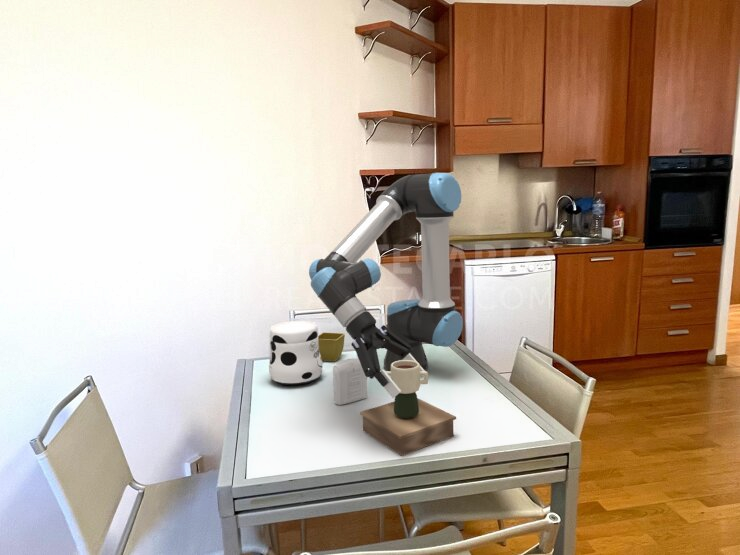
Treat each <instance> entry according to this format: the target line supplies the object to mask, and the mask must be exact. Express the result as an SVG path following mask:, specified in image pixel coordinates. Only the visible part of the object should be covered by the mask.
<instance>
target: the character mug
mask: <svg viewBox="0 0 740 555" xmlns="http://www.w3.org/2000/svg"><path fill="white" fill-rule="evenodd" d="M385 372H386V373H387V374H388V375H389V376H390V378H391V379H392V380H393V381H394V383H395V384H396V385H397V386H398V388H399V389H400V390H401V392H400V393H399V394H398V395H397V396H395V397H394V401H393V402H394V413H395V414H396V415H397V416H400V417H403V418H410V417H413V416H415V415H417V414H418V413H419V406H418V400H417V398H418V394H417V392H418V391H419V390H420V387H421V385H427V384H428V382H429V373H428V371H426V370H424V371H420V364H419V363H418V362H416V361H412V360H399V361H395V362H393V363H392V364H391V371H387V370H385ZM420 375H423V380H421V378H420Z"/></svg>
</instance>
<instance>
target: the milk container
mask: <svg viewBox="0 0 740 555" xmlns="http://www.w3.org/2000/svg"><path fill="white" fill-rule="evenodd" d="M318 336H319V328H318V325H317V323H315V322H313V321H308V320H290V321H283V322H278V323H276V324H272V326H270V327H269V338H270V339H269V344H270V345H269V347H270V358H269V365H268V370H269V375H270V378H271V379H272V381H274V382H276V383H277V384H281V385H286V386H299V385H303V384H309V383H311V382H315V380H317V379H319V377H321V375H322V373H323V361H322V358H321V355H320V352H319V339H318Z"/></svg>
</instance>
